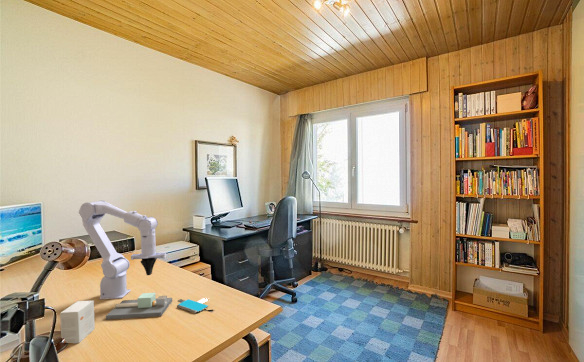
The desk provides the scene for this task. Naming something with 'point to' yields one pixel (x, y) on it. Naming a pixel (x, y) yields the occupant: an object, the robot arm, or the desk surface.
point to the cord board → (137, 311)
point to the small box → (77, 321)
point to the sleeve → (146, 300)
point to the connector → (161, 301)
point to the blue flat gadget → (193, 305)
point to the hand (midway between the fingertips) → (149, 274)
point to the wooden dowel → (132, 304)
